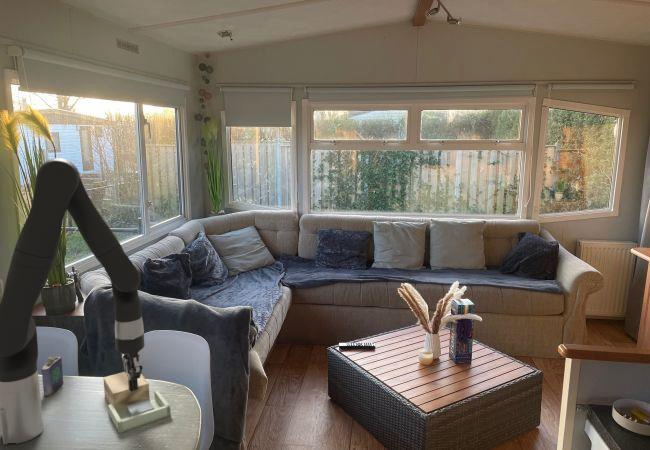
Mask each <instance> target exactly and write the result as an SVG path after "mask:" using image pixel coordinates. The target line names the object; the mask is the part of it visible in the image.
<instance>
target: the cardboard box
mask: <svg viewBox="0 0 650 450" xmlns="http://www.w3.org/2000/svg"><path fill="white" fill-rule="evenodd" d="M102 378H103V391H104V392H103V393H104V397H105V399H106V400H107V403H108V405H110V404H112V405H113V407H114V408H115V410H116V411H117V410H121V409H124V408H126V406H127V405H130V404H133V403H136V402H139V401H143V400H146V399H148V400H150V383H149V382H148V381H147V380H146V378H145V376H144V375H143V374H142V373H141V376H140V378H137V381H138V389H137V390H135V391H130V390H129V386H128V378H127V373H125V371H122V372H119V373H114V374H112V375H108V376H104V377H102Z"/></svg>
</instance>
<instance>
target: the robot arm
mask: <svg viewBox="0 0 650 450" xmlns="http://www.w3.org/2000/svg"><path fill="white" fill-rule="evenodd" d="M35 177H36V178H35V184H34V185H35V187H34V192H33V197H32V203H31V207H30V210H29V213H28V215H27V218H26V220H25V222H24V224H23V225H22V228H21V231H20V233H19V236H18V238H17V240H16V243H15V246H14V250H13V253H12V256H11V259H10V264H9V268H8V271H7V275H6V278H5V284H4V287H3V293H2V298H1V300H0V429H1V434H2V435H1V437H2V443H3V445H4V444H6V445H8V444H7V443H16V444H21V443H25V442H29V441H31V440H33V439H35V438H37V437H38V436H39V435H40V434H41V433H42V432H43V431H44V418H43V409H42V402H41V401H42V400H41V391H40V383H39V371H38V358H39V357H38V356H39V346H38V345H39V344H38V333H37V332H38V331H37V330H38V329H37V324H36V322H35V320H34V318H33V317H32V316H33V312H34V308H35V305H36V304H37V301H38V299H39V297H40V295H41V293H42V291H43V290H44V288H45V286H46V284H47V282H48V280H49V277H50V276H51V273H52V270H53V267H54V265H55V261H56V257H57V255H58V250H59V247H60V242H61V235H62V234H61V233H62V229H63V228H62V227H63V226H62V225H63V221H64V217H65V215H66V211H67V212H68V213H69V215H70V216H71V218H72V220H73V222H74V224H75V225H76V227H77V230H78V231H79V234H80V235H81V237H82V239H83V240H84V243H85V244H86V245H87V247H88V248H89V250H90V252H91V253H92V254H93V256H94V257H95V259H96V260H97V261H98V262H99V264H101V266H102V267H103V269H104V271H105V272H106V274H107V276H108V277H109V279H110V283H111V290H112V296H113V303H114V304H113V305H114V307H113V309H114V338H115V350H116V352H117V353H119V354H120V356H121V360H122V365H123V369H124V372H125V373H127V378H128V386H129V390H130V391H135V390H137V389H138V381H137V378H140V376H141V374H142V373H143V367H144V366H142V365H140V364H141V363H140V362H141V355H140V354H139V352H140V351H142V350H143V349H144V348H145V331H144V321H143V315H142V313H143V312H142V302H141V299H140V296H139V291H138V288H139V286H140V285H141V281H142V277H141V274H140V271H139V270H138V269H137V267H136V266H135V265H134V263H133V262H132V260H131V259H130V257H128V255H127V254H126V252H125V251H124V249H123V246H122V245H121V243H120V242H119V239H117V237H116V235H115V234H114V232H113V231H112V229H111V228H110V226H109V225H108V223H107V222H106V221H105V219H104V218H103V216H102V215H101V213H100V212H99V211H98V209H97V207H96V206H95V205H94V203H93V201H92V200H91V198H90V196H89V194H88V192H87V190H86V188H85V186H84V183H83V182H82V178H81V177H80V171H79V169H78V167H77V166H76V165H75V164H74V163H73V162H72V161H70V160H67V159H65V158H61V157H60V158H59V157H54V158H51V159H48V160H47V161H45V162H44V163H43V164H42V165H40V167H39V168H38V169H37V172H36V176H35Z"/></svg>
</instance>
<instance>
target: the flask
mask: <svg viewBox="0 0 650 450" xmlns="http://www.w3.org/2000/svg"><path fill="white" fill-rule="evenodd" d="M45 360H47V362H46V363H45V364H44V365H43V366H42V368H41V378H42V388H43V396H44V397H50V396H51V395H53V394H54V392H56V391H57V390H58V389H59V388H60V387H61V386H62V385H63V384H64V375H63V372H64V371H63V362H62V360H63V359H62V356H54V357H52V356H48V357H46V359H45Z"/></svg>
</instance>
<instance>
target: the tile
mask: <svg viewBox="0 0 650 450" xmlns="http://www.w3.org/2000/svg"><path fill="white" fill-rule="evenodd" d="M126 409H127V413H128V415H129V416H130V417H132V416H135V415H138V414H141V413H145V412H148V411H151V410H154V407H153V405H152V404H151V403H150V402H149V400H148V399H146V400H143V401H139V402H136V403H133V404H130V405H127V406H126Z"/></svg>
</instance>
